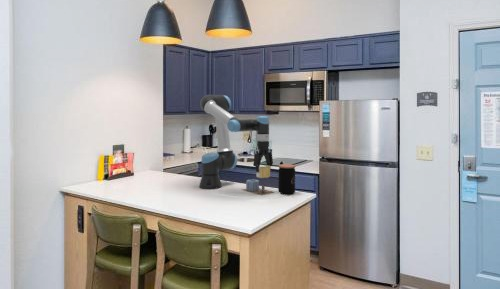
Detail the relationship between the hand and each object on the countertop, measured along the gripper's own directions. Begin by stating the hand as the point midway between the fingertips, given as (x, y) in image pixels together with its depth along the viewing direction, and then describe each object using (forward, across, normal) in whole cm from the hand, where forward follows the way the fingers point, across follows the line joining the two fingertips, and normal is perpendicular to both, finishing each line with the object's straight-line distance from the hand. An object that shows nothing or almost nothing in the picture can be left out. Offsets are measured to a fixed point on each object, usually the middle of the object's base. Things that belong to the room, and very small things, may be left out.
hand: (263, 176), depth 232 cm
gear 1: (+10, 0, +10) cm, 15 cm away
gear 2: (0, 0, 0) cm, 0 cm away
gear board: (+11, 0, +5) cm, 13 cm away
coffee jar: (+12, +13, -8) cm, 19 cm away
